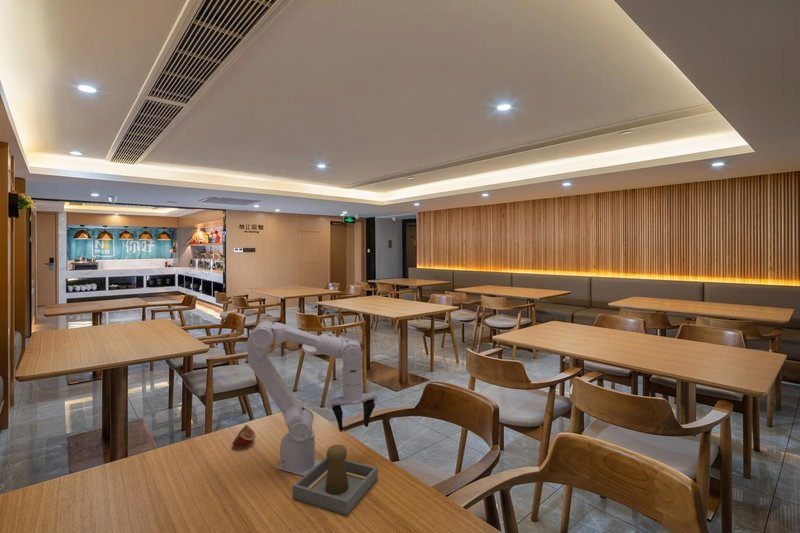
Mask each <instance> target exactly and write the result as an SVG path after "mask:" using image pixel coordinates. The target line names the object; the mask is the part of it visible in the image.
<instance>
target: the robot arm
mask: <svg viewBox="0 0 800 533" xmlns="http://www.w3.org/2000/svg"><path fill="white" fill-rule="evenodd" d="M274 341H275V345H278V344H281V343H284V342H286V341H289V342H293V343H297V344H301V345H305V346H308V347H313V348H315V350H316V353H318V354H321V355H325V356H328V357H332V358H335V359H342V363H343V364H342V368H341V369H342V370H341V372H342V374H341V375H342V395H340V396H337V397H334V398H331V399H327V407H328V409H330V410H331V409H332V412H333V413H334V414H333V415H334V416H335V418H336V422H337V425H338V426H337V427H338V430H339V432H340V433H343V431H344V427H343V414H344V413H343V409H342V406H343V407H344V406H348V405H349V406H350V405H353V406H355V405H359V404H362V406H363V425H364V426H365V428H368V427H369V423H370V418H371V415H372V413H373V411H374V409H375V408H376V403H375V402H378V394H377V393H376V392H363V366H362V363H363V362H362V359H363V357H364V354H363V351H362V350H363V349H362V347H361V345H360V343H359V342H358V341H356V340H354V339H349V338H348V337H347V338H346V337H345V338H341V337H338V336H335V335H334V334H333V332H328V333H322V334H320V335H316V334H313V333H310V332H307V331H304V330H303V329H302V330H301V329H299V328H295V327H294V326H290V325H287V324H285V323H281V322H277V321H275V322H274V321H272V320H268V319H267V320H266V319H264V320H262V321H259V322H258V324H256V326H255V327H254V328H253V329H252V330H251V331H250V333H249V336H248V338H247V341H246V345H247V363H248V365H249V367H250V368H251V370H252V372H254V374H255V375H256V377H257V378H258V380H259V381H260V383H261V384H262V386H263V387H264V389H265V391H266V392H267V393H268V394H269V396H270V397H271V399H272V400H273V401H274V403H275V405H276V406H277V407H278V409H279V410H280V413H282V415H283V420H284V423H285V426H286V427H287V428H288V433H286V434H284V436H283V437H282V438H281V440H280V445H279V466H278V470H281V471H285V472H287V473H292V474H294V475H298V476H302V477H303V476H304V475H306V474H307V473H308V472H309V471H310V470H311V469H313V468H314V467H315V466H316V465H317V464H319V463H320V462H321V461H322V460H319V459H316V458H315V456H316V455H315V454H316V453H315V452H316V450H315V449H316V448H315V446H316V445H315V443H316V442H315V440H316V439H315V435H316V434H315V431H314V430H313V422H314V414H313V412H312V410H310V409H309V408H307V407H305V406H304V405H303V403H302V402H300V401H299V400H297V398H296V397H295V395H294V394H293V393H292V391H291V389H290V387H289V386H288V385H287V384H286V382H285V381H284V379H283V377H282V375H280V373H279V371H278V370H277V369H276V367H275V365H274V364H273V363H272V361H271V360H270V358H269V353H270V350H271V346H272V345H273V342H274Z"/></svg>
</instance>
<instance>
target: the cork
mask: <svg viewBox="0 0 800 533" xmlns="http://www.w3.org/2000/svg"><path fill="white" fill-rule="evenodd" d="M347 452H348V451H347V448H346V447H345V445H343V444H333V445H331V446H329V447H328V449H327V450H326V457H327V459H328V460H329V464H328V472H327V479H326V487H325V490H326V492H327V493H328V494H331V495H340V494H343V493H345V492H346V491H347V490H348V479H347V472H346V465H345V460H346V458H347V455H348V453H347Z"/></svg>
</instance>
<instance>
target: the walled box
mask: <svg viewBox="0 0 800 533" xmlns="http://www.w3.org/2000/svg"><path fill="white" fill-rule="evenodd" d="M320 461H321V462H320V463H319V464H317V465H316V466H315V467H314V468H313V469H311V470H310V471H309V472H308V473H307V474H306V475H304V476H302V477H301V478H299V479H298V481H296V482H295V483H294V484H293V485H292V499H293V500H295V501H297V502H298V501H299V502H301V503H305V504H307V505H311V506H314V507H317V508H319V509H324V510H326V511H329V512H332V513H336V514H339V515H342V516H345V517H348V516H349V515H350V513H351V512H352V511H353V510H354V509H355V508H356V506H358V504H359V503H360V502H361V500H363V498H364V497H365V496H366V495H367V494H368V492H370V490H371V489H372V487H373V486H374V485H375V484H376V482H378V480H379V478H378V477H379V475H378V474H379V473H378V472H379V468H378V467H376V466H373V465H368V464H365V463H362V462H361V463H360V462H357V461H353V460H348V459H345V465H346V472H347V479H348V490H347V491H346V492H345V493H343V494H340V495H331V494H328V493H327V492H326V490H325V487H326V479H327V472H328V464H329V460H328V459H327V456H326V457H324V458H323V459H322V460H320Z"/></svg>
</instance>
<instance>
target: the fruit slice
mask: <svg viewBox="0 0 800 533" xmlns="http://www.w3.org/2000/svg"><path fill="white" fill-rule="evenodd" d="M255 439H256V433H255V431H254V429H253V428H252V427H250V426H249V424H245V426H243V427H242V428H241V429H240V430H239V432H238V433H237V435H236V437H235V438H234V439H233V441H232V445H234V447H238V448H239V447H240V448H242V447H246V446H248V445H250V444H251V443H252V442H254V441H255Z"/></svg>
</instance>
